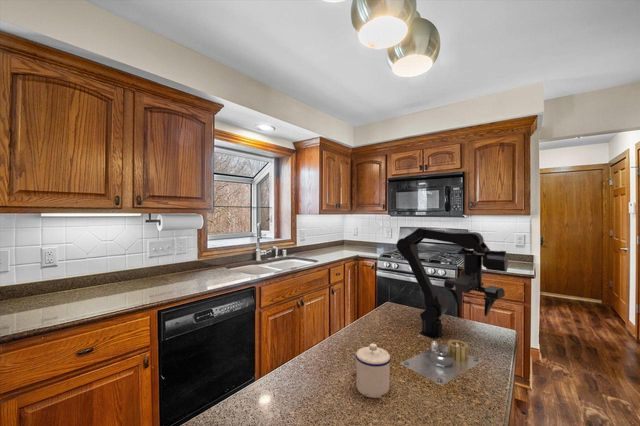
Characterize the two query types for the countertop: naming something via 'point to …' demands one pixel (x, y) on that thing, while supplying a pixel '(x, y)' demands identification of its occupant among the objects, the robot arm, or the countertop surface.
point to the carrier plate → (436, 370)
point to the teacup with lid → (372, 371)
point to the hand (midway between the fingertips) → (472, 312)
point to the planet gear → (458, 350)
